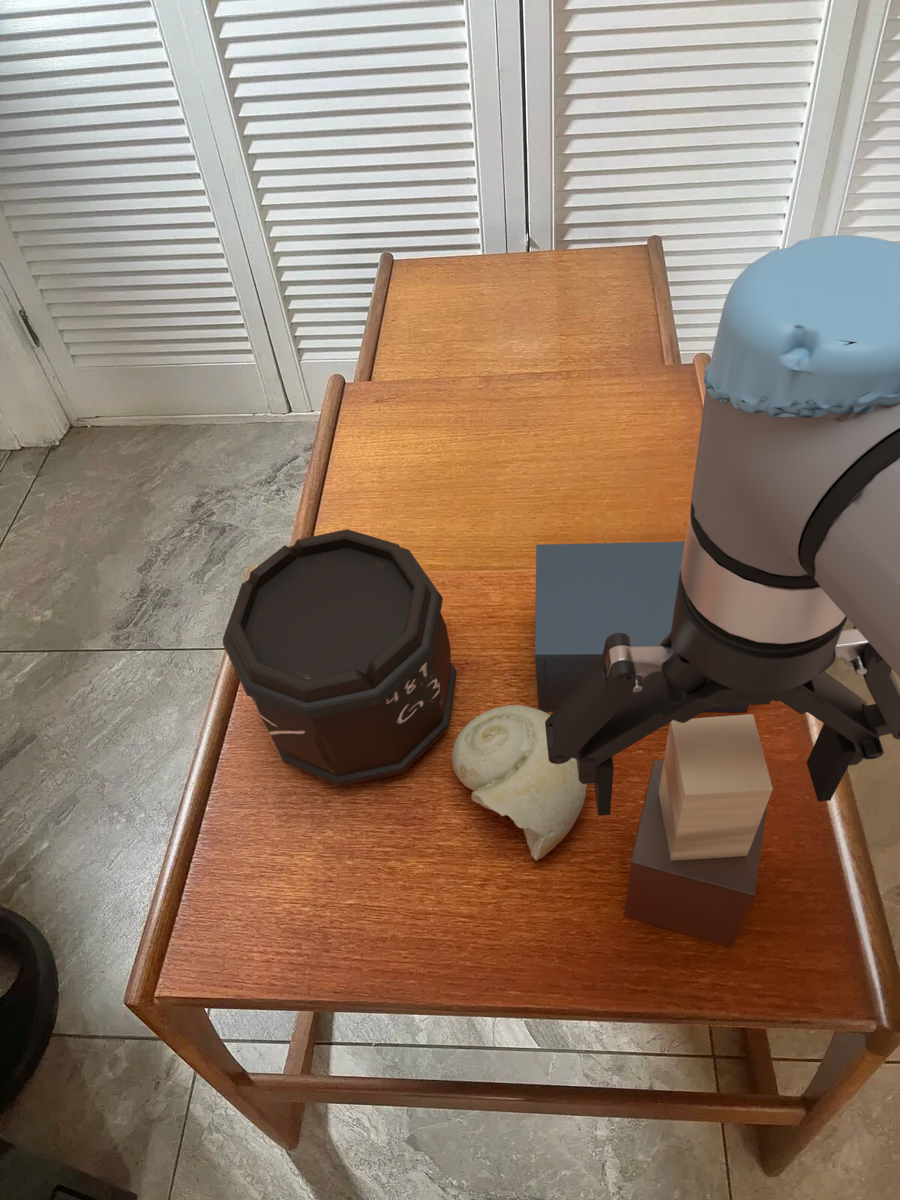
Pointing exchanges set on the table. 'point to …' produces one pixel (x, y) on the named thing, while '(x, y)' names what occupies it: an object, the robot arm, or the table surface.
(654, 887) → the plinth
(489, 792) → the seashell
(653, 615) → the lid
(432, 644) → the octagonal dark pot
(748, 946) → the table surface
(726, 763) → the block
